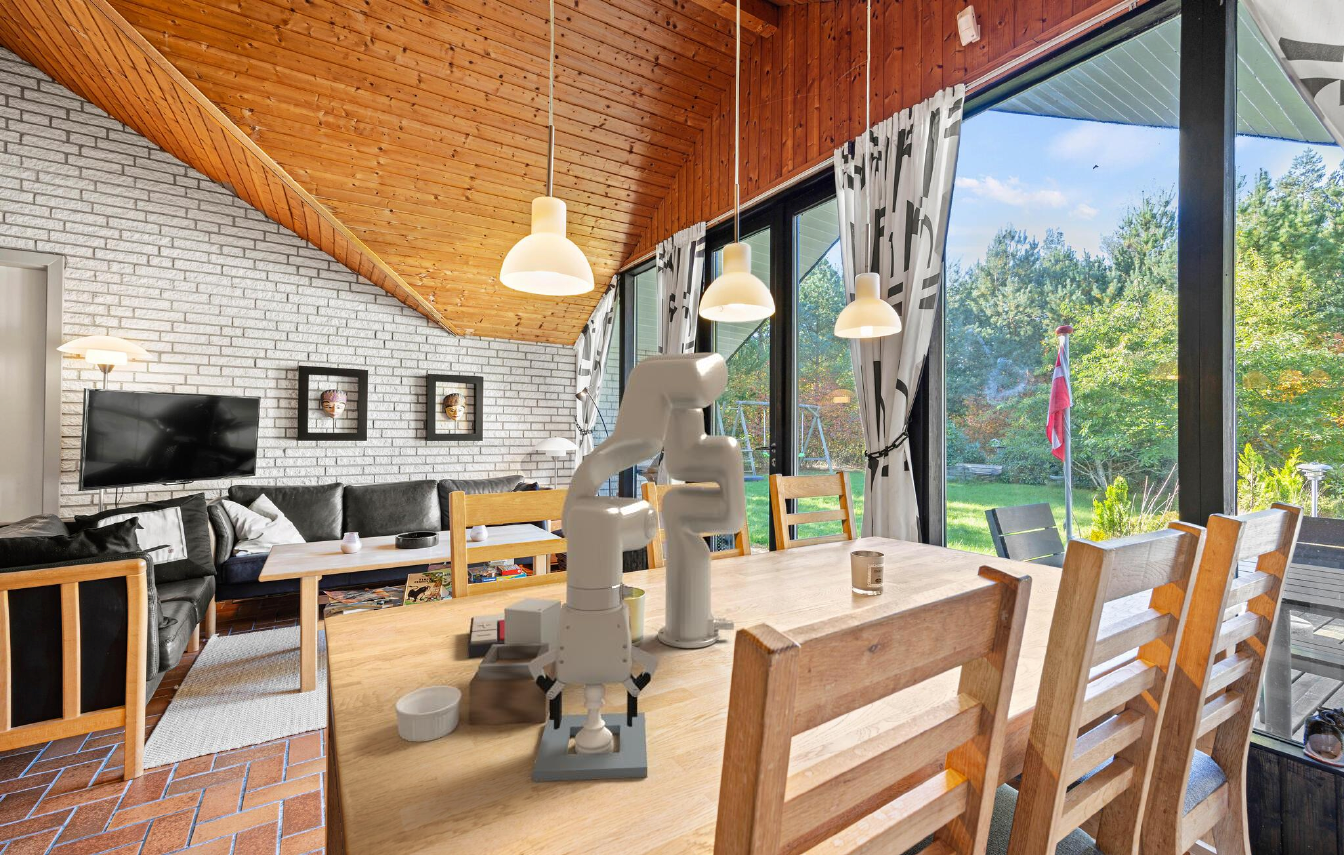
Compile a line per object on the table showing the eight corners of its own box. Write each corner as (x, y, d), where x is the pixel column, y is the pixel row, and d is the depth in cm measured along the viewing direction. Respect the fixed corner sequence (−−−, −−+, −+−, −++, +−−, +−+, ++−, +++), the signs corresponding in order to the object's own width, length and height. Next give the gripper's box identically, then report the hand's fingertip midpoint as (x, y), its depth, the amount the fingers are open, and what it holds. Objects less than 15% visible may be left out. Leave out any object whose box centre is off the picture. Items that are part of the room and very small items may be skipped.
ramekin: (420, 752, 76) (420, 719, 76) (381, 733, 81) (381, 703, 81) (474, 723, 84) (474, 694, 84) (436, 708, 88) (436, 680, 88)
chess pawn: (618, 751, 76) (619, 683, 76) (584, 763, 74) (584, 692, 74) (602, 734, 80) (602, 670, 81) (569, 745, 78) (569, 678, 78)
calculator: (467, 641, 108) (471, 613, 122) (467, 663, 108) (471, 633, 122) (527, 635, 111) (524, 609, 125) (527, 657, 111) (524, 628, 125)
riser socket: (555, 689, 95) (555, 640, 95) (545, 722, 84) (545, 667, 84) (487, 691, 94) (488, 642, 94) (469, 724, 83) (469, 669, 83)
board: (644, 720, 85) (644, 712, 85) (647, 776, 71) (647, 766, 71) (548, 723, 83) (548, 715, 84) (532, 781, 70) (532, 771, 70)
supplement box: (562, 670, 102) (563, 600, 103) (540, 688, 95) (540, 612, 96) (527, 665, 105) (527, 596, 105) (502, 681, 98) (503, 607, 98)
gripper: (657, 587, 82) (656, 708, 81) (534, 589, 80) (533, 712, 80) (659, 602, 74) (659, 735, 74) (524, 605, 73) (523, 740, 73)
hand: (593, 723), depth 77 cm, fingers open, 9 cm apart
